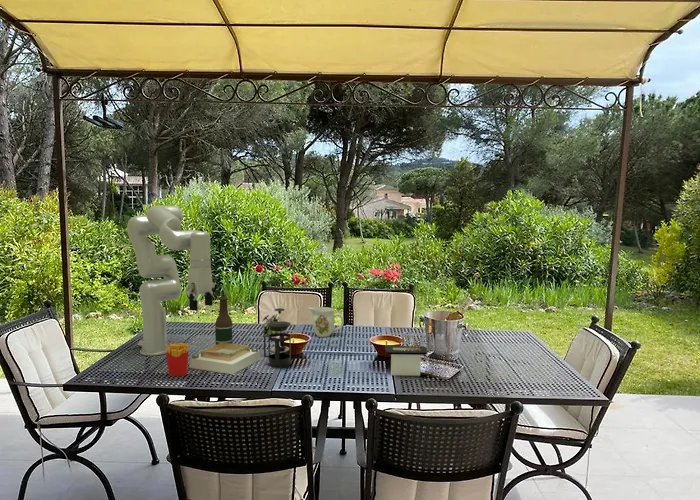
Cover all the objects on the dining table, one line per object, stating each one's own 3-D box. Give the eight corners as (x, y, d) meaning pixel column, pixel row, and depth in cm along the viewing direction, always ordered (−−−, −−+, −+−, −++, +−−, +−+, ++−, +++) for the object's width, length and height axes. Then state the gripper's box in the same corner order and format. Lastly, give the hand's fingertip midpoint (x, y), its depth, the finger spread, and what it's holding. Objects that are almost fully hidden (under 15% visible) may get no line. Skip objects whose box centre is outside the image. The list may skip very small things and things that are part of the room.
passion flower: (266, 342, 265) (265, 320, 271) (287, 339, 265) (285, 317, 270) (260, 335, 255) (259, 312, 261) (282, 331, 255) (280, 309, 261)
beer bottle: (228, 353, 228) (227, 299, 226) (212, 352, 230) (211, 298, 227) (235, 348, 236) (235, 295, 233) (219, 347, 237) (219, 295, 235)
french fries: (165, 376, 198) (164, 345, 197) (168, 372, 202) (168, 342, 201) (188, 376, 198) (187, 345, 197) (191, 372, 202) (190, 342, 201)
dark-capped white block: (444, 363, 217) (444, 330, 216) (457, 388, 190) (458, 349, 188) (360, 363, 218) (360, 329, 216) (361, 387, 190) (361, 348, 188)
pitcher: (342, 338, 254) (343, 310, 252) (306, 337, 254) (306, 310, 253) (344, 332, 265) (344, 306, 263) (308, 332, 265) (308, 305, 264)
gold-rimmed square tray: (189, 367, 208) (189, 352, 207) (219, 354, 227) (219, 339, 226) (232, 374, 201) (232, 357, 200) (259, 359, 219) (259, 344, 219)
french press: (295, 361, 218) (294, 306, 216) (290, 368, 208) (290, 311, 206) (267, 360, 219) (267, 306, 217) (261, 367, 210) (260, 310, 207)
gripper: (205, 261, 210) (206, 303, 212) (177, 266, 194) (178, 311, 195) (221, 261, 207) (222, 304, 209) (195, 267, 191) (196, 313, 193)
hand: (201, 307), depth 202 cm, fingers open, 9 cm apart
